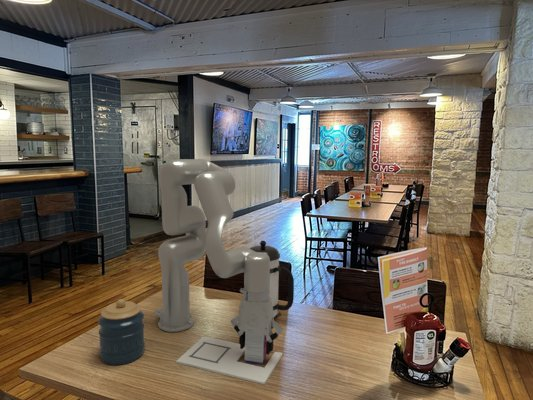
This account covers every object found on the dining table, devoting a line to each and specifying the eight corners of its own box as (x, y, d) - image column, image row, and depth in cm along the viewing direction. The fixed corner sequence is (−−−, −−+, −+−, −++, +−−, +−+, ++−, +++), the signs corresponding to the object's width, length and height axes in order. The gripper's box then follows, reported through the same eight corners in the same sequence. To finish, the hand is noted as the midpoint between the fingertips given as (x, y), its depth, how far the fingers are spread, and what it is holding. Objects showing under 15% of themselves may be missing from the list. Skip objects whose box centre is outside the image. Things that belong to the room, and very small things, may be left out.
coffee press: (246, 330, 131) (247, 247, 127) (239, 311, 147) (239, 236, 143) (293, 325, 135) (295, 245, 131) (281, 307, 151) (283, 235, 147)
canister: (130, 368, 107) (128, 310, 105) (90, 363, 109) (87, 306, 107) (152, 345, 120) (151, 293, 117) (115, 341, 122) (113, 289, 120)
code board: (176, 362, 110) (176, 360, 110) (203, 337, 125) (203, 335, 125) (264, 384, 101) (264, 382, 101) (282, 354, 116) (282, 352, 116)
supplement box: (263, 364, 110) (263, 328, 108) (243, 362, 111) (244, 326, 110) (267, 354, 116) (267, 319, 114) (248, 352, 117) (249, 317, 115)
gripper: (224, 294, 110) (224, 350, 112) (280, 303, 104) (279, 362, 107) (235, 286, 117) (235, 338, 119) (288, 294, 111) (286, 349, 113)
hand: (255, 349), depth 113 cm, fingers open, 7 cm apart
